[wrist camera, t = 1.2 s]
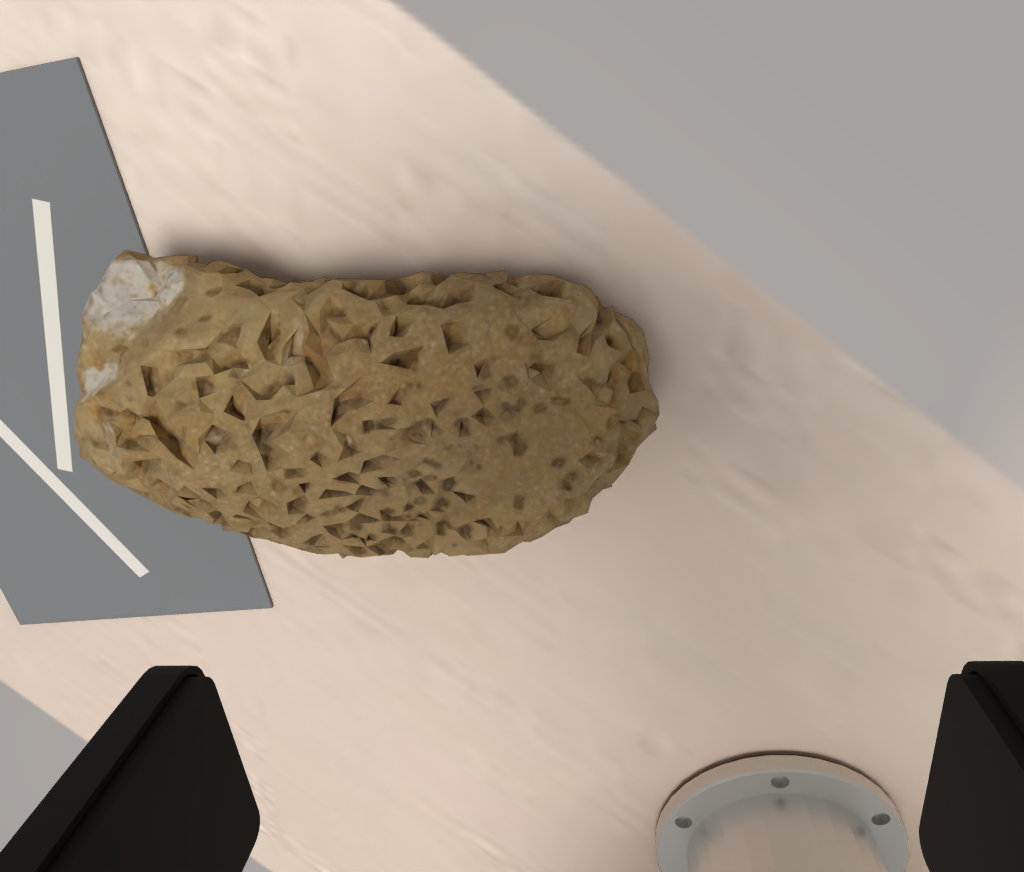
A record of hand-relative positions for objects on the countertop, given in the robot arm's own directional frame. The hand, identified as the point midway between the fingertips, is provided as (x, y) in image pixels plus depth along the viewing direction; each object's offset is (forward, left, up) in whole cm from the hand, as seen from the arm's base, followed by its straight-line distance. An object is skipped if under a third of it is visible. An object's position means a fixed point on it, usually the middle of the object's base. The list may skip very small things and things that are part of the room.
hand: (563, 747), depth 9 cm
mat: (0, +23, -20) cm, 31 cm away
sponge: (-1, +8, -20) cm, 22 cm away
